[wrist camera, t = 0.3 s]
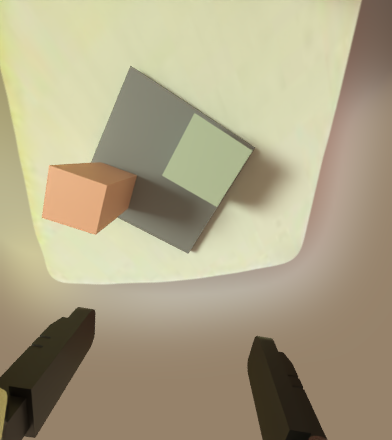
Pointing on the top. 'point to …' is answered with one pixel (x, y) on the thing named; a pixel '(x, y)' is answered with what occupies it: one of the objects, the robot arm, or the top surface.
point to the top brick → (87, 195)
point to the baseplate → (155, 160)
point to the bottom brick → (206, 160)
